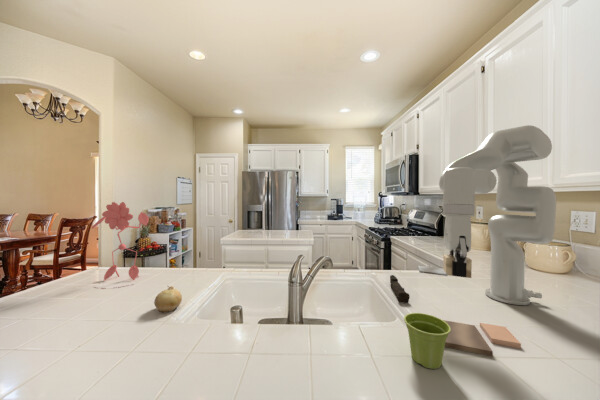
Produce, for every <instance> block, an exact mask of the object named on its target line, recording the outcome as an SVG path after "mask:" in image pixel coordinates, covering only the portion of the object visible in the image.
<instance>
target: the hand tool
mask: <svg viewBox="0 0 600 400" xmlns="http://www.w3.org/2000/svg"><path fill="white" fill-rule="evenodd" d="M389 279H390V280H389V281H390V282H389V283H390V288H391V289H392V290H393V292H394V293H395V296H396V297H397V301H398V302H399V303H402V302H404V304H406V303H407V304H408V303H409V302H410V294H409V293H408V292H406V291H405V288H404V287H403V286H402V285H401V284H400V282H399V279H398V278H397V277H396V276H395V275H394V274H391V275H390V276H389Z"/></svg>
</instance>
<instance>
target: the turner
mask: <svg viewBox="0 0 600 400" xmlns="http://www.w3.org/2000/svg"><path fill="white" fill-rule="evenodd" d="M442 258H443V261H442V262H443V263H442V264H443V265H442V266H443V267H442V268H441V267H431V266H423V265H417V269H418V271H419V274H420V273H421V274H427V275H428V274H429V275H437V276H442V277H443V276H444V277H448V276H451V277H454V276H453V275H452V261H454V256H453V255H449V254H443V257H442ZM466 259H467V266H466V277H465V278H466V279H467V278H468V279H469V278H470V279H472V267H473V266H472V263H473V262H472V259H471V258H470V257H468V256H466Z"/></svg>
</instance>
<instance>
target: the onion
mask: <svg viewBox="0 0 600 400" xmlns="http://www.w3.org/2000/svg"><path fill="white" fill-rule="evenodd" d="M182 299H183V296H182V293H181V291H179V290H178V289H176V288H175V287H174V286H172V285H171V286H168V285H167V289H164V290H162V291H160V292H159V293H158V294H157V295H156V297H155V299H154V302H153V303H154V306H155V308H156V310H157V311H158V312H161V313H166V312H172V311H174V310H175V309H177V308H178V307H179V306H181V303H182Z"/></svg>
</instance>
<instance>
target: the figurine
mask: <svg viewBox="0 0 600 400" xmlns="http://www.w3.org/2000/svg"><path fill="white" fill-rule="evenodd" d="M101 216H102V217H101V218H99V219H98V220H97V221H96V222H95V223H94V224H93V225H92V227H91V229H94V228H96V227H97V226H99V225H100V224H101V223H103V222H104V223H105V224H106V225H107V224H108V226H109V229H110V230H114V229H115V230H117V231H118V230H119V231H118V232H117V237H118V240H119V243H120V244H119V245H118V247H117V248H116V249H114V250H112V252H111V254H112V255H111V257H112V265H111V266H110V267H109V268H108V270H106V272H105V274H104V277H103V280H104V281H106V280H108V279H109V278H111V277H112V276H113V275H114V274H115V273H116V276H117V277H120V274H119V273H118V270H117V269H118V266H117V264H114V263H115V261H114V252H116V251H117V250H120V251H124V250H128V251H131V252H135V258H134V261H133V265H132V266H130V267H129V270H128V276H129V277H130V279H131V280H133V281H135V280H136V278H139V272H140V270H139V267H138V265H136V261H137V255H138V251H135V250H132V249H130V248H127V245H126V244H125V243H122V240H121V237H120V233H122V232H123V231H124V230H126V229H128V228H134V229H141V225H143V226H146V227H147V226H148V223H149V220H150V219H149V216H148V214H146V212H140V213H139V214H138V217H137V220H138V222H139V225H138V226H134V225H133V226H131V225H130V222H129V221H130V220H132V219H133V218H134V215H133V214H131V213H130V207H127V205H126V202H125V201H122V202H120V203H119V204H118V203H117V202H115V201H112V202H111V204H106V210H105V211H103V212H102V213H101ZM133 285H134V283H132V284H131V286H133ZM128 286H130V285H129V284H128V285H127V287H128ZM124 287H125V285H124V286H116V287H114V289H119V288H124ZM94 288H95V289H97V287H96V286H94ZM102 290H105V287H102Z"/></svg>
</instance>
